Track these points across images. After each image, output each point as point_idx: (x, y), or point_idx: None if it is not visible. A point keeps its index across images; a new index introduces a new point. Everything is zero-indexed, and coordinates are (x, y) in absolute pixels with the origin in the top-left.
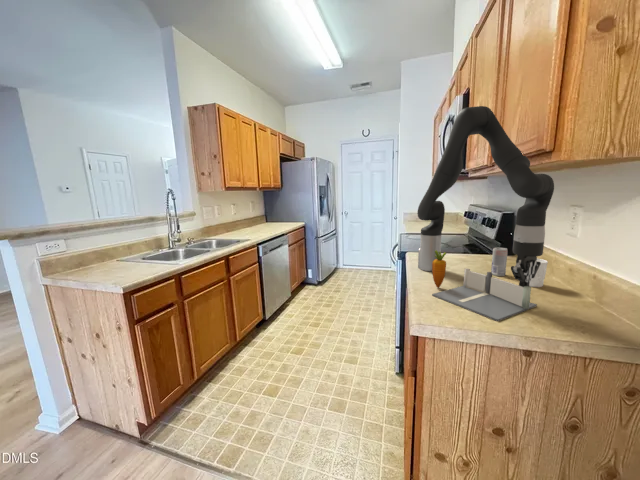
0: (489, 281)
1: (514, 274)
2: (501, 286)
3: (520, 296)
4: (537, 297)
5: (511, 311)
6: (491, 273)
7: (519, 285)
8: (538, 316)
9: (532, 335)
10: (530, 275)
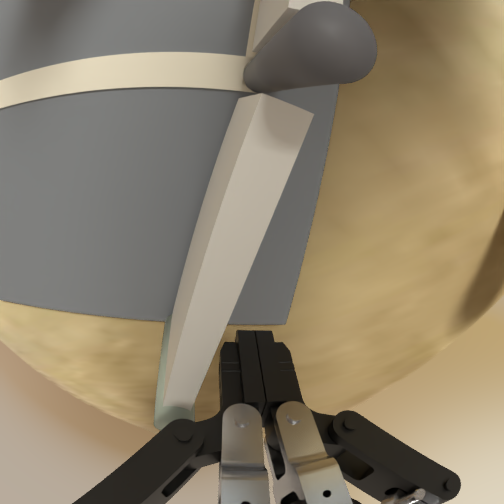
0: (265, 75)
1: (118, 474)
2: (203, 231)
3: (168, 348)
4: (407, 273)
5: (88, 301)
6: (313, 78)
7: (220, 376)
8: None
9: (36, 367)
10: (281, 472)
